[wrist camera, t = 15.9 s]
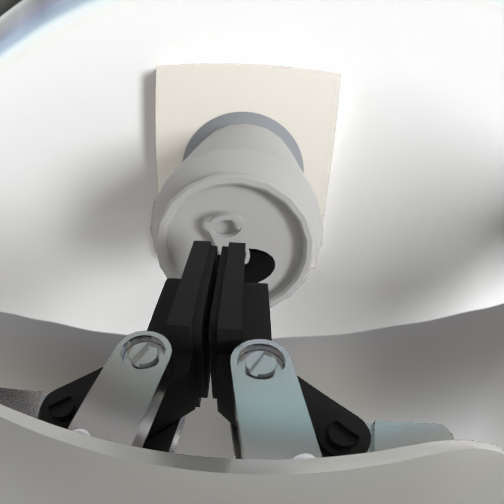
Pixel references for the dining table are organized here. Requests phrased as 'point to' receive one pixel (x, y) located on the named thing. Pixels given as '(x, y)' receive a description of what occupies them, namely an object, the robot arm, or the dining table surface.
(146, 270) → the dining table surface
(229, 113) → the tile
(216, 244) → the can
